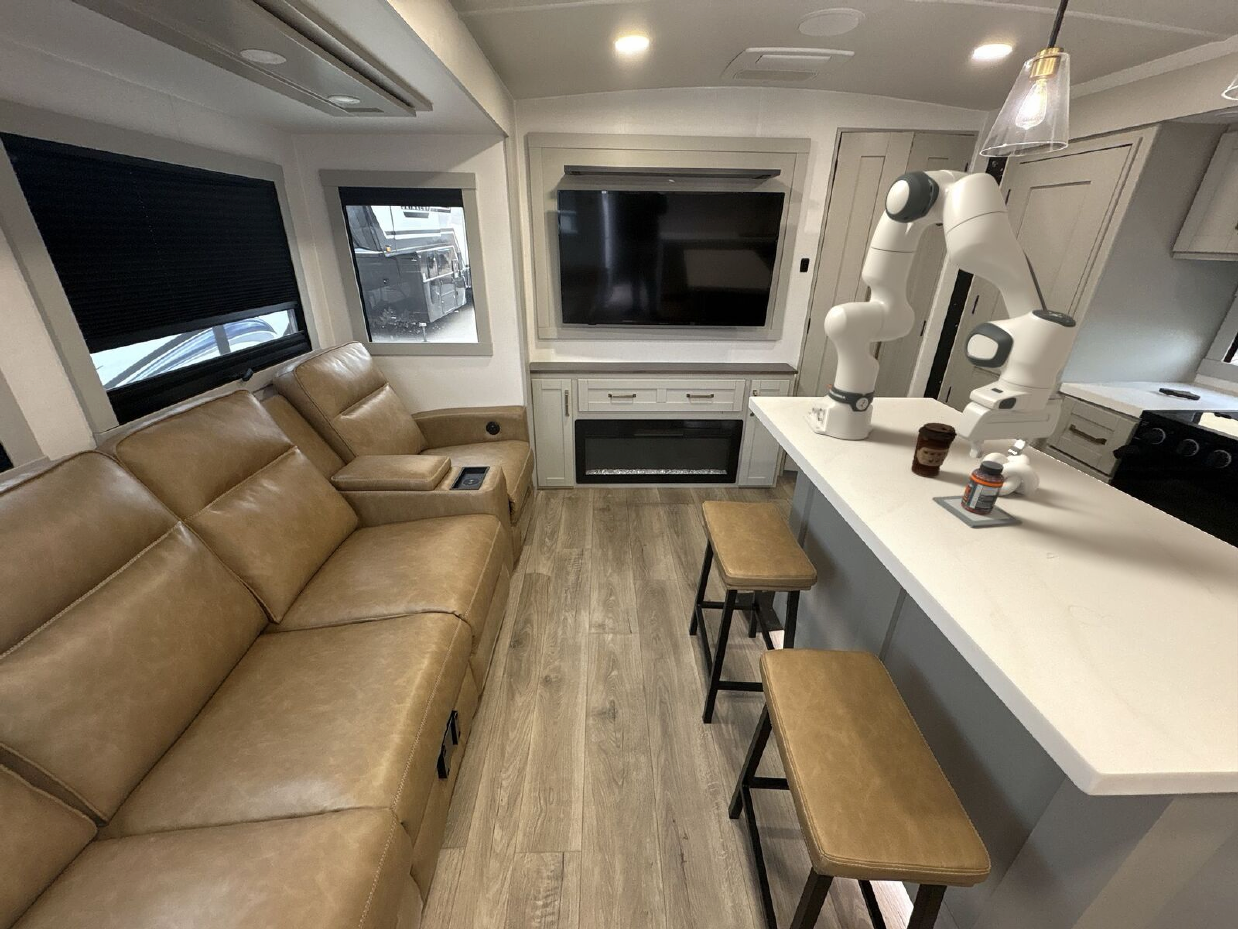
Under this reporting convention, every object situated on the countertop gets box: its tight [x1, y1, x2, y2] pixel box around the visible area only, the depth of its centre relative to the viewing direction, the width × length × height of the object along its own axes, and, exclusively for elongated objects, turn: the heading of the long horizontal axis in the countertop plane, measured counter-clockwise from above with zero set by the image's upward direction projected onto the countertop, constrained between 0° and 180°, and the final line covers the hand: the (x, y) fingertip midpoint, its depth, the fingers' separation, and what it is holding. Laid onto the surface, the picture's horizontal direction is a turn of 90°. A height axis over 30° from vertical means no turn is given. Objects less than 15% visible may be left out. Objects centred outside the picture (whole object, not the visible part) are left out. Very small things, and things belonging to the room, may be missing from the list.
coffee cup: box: [910, 422, 958, 478], centre depth 124 cm, size 9×8×13 cm
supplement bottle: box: [961, 461, 1005, 515], centre depth 107 cm, size 6×6×11 cm
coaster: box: [931, 494, 1023, 529], centre depth 110 cm, size 12×12×1 cm
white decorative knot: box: [981, 452, 1041, 496], centre depth 118 cm, size 11×12×9 cm
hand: (994, 455), depth 104 cm, fingers open, 8 cm apart
